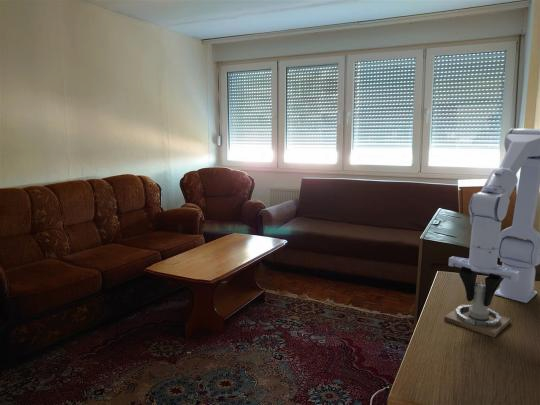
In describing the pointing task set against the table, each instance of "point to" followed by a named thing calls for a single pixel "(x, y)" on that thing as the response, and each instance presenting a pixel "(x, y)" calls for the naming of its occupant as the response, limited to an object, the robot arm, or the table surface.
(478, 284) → the rook chess piece
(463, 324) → the socket board
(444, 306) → the table surface
